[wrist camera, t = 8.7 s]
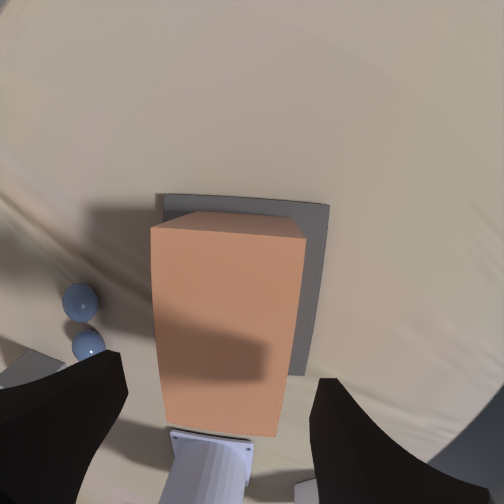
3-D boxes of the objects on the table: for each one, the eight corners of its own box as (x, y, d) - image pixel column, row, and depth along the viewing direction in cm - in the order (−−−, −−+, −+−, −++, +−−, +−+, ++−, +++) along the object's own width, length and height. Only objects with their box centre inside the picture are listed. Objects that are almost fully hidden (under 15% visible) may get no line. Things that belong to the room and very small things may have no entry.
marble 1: (107, 316, 20) (87, 332, 17) (79, 309, 20) (58, 324, 17) (103, 280, 19) (81, 294, 16) (74, 275, 19) (52, 287, 16)
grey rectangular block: (78, 402, 23) (47, 441, 16) (44, 387, 23) (13, 420, 17) (65, 363, 22) (25, 401, 15) (30, 348, 22) (-8, 379, 15)
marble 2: (114, 357, 21) (98, 376, 18) (87, 349, 21) (69, 366, 18) (109, 327, 20) (90, 344, 17) (81, 320, 20) (61, 335, 17)
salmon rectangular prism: (276, 362, 19) (275, 437, 12) (197, 354, 19) (166, 422, 12) (292, 217, 16) (306, 238, 10) (198, 210, 17) (150, 227, 10)
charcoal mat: (303, 369, 20) (304, 375, 19) (172, 355, 20) (168, 361, 19) (327, 204, 17) (329, 205, 16) (168, 193, 17) (164, 194, 17)
